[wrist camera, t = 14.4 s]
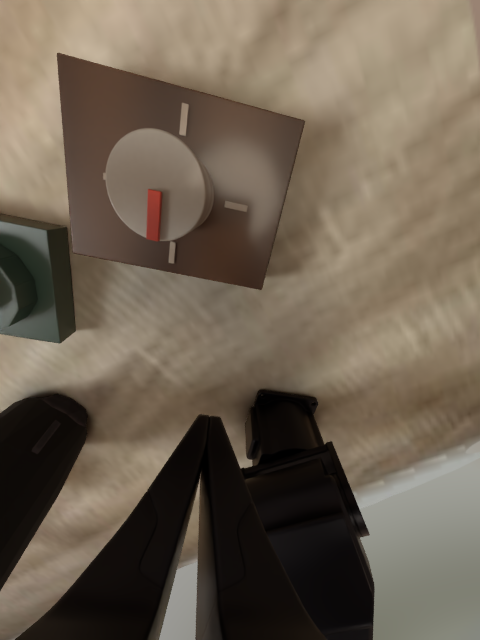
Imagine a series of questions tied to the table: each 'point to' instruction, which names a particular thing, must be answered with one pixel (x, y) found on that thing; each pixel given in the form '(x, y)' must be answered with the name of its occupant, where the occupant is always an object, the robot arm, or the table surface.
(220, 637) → the robot arm
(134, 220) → the dial knob
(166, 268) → the dial panel
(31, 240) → the button box
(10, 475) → the portable speaker
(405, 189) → the table surface
